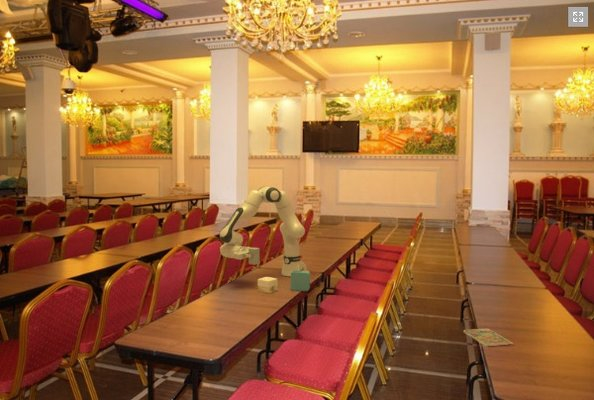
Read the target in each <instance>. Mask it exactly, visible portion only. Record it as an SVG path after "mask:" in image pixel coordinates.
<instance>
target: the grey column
mask: <svg viewBox="0 0 594 400" xmlns="http://www.w3.org/2000/svg"><path fill="white" fill-rule="evenodd" d="M260 252H261V251H260V248H259V247H250V248H249V254H251V255H253V257H251V258H250V257H248V265H254V266H255V265H259V264H260V255H261V254H260Z"/></svg>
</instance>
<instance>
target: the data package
mask: <svg viewBox="0 0 594 400" xmlns="http://www.w3.org/2000/svg"><path fill="white" fill-rule="evenodd" d="M308 271H309V270H308ZM308 271H293V272H292V273H291V276H290V290H291V291H295V292H296V291H298V292H309V290H310V288H311V272H310V271H309V272H308Z"/></svg>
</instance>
